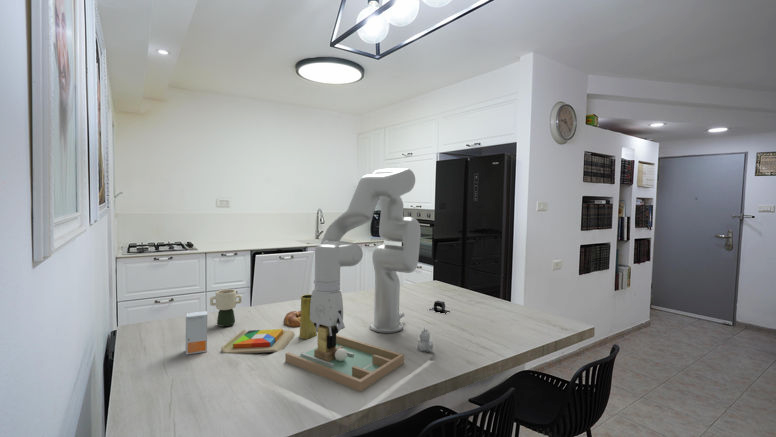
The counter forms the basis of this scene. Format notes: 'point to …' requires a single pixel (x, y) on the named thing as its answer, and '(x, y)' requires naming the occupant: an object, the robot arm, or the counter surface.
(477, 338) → the counter surface
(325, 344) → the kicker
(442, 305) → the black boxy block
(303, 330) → the vase
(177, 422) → the counter surface
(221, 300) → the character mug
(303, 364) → the pitch
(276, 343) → the wooden puzzle
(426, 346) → the grey figurine
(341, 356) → the ball
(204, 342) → the skincare box
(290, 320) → the sesame bagel
